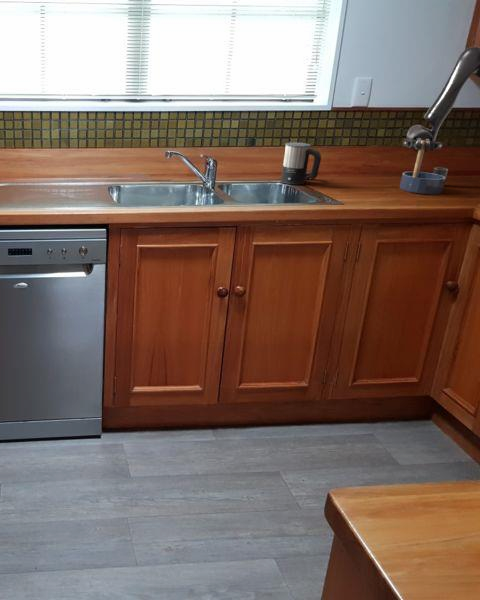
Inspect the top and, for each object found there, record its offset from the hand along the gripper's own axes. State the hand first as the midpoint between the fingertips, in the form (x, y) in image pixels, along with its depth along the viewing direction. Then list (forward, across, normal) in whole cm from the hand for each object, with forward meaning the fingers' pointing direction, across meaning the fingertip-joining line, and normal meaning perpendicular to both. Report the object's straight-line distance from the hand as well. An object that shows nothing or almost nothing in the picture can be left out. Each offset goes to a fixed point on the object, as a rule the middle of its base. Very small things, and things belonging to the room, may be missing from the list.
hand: (422, 147), depth 220 cm
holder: (-16, +9, +16) cm, 25 cm away
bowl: (-3, +3, +16) cm, 17 cm away
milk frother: (+4, -40, +17) cm, 44 cm away
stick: (-3, 0, +14) cm, 14 cm away
